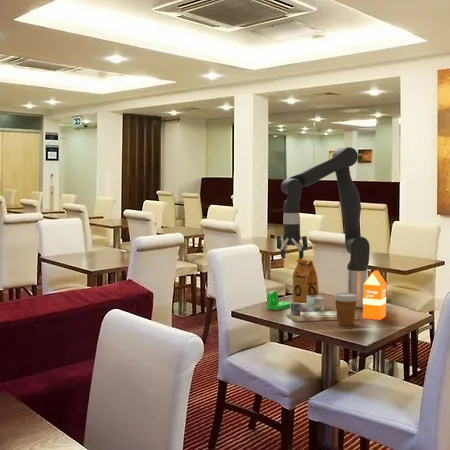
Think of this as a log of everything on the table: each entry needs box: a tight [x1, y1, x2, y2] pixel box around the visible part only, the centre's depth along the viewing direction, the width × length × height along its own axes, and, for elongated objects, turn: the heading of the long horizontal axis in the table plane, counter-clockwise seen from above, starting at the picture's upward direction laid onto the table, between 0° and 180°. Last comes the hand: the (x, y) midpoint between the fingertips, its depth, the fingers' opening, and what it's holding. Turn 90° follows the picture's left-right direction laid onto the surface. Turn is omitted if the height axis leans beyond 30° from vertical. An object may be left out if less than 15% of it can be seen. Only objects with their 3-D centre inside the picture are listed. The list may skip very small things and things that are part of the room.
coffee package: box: [292, 258, 320, 304], centre depth 278 cm, size 10×12×22 cm
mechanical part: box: [266, 290, 291, 311], centre depth 272 cm, size 12×6×8 cm, turn 139°
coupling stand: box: [285, 301, 360, 322], centre depth 251 cm, size 29×11×6 cm, turn 100°
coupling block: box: [306, 294, 326, 312], centre depth 262 cm, size 5×11×7 cm, turn 10°
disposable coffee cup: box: [333, 292, 358, 326], centre depth 239 cm, size 10×10×12 cm
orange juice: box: [362, 270, 387, 321], centre depth 252 cm, size 8×9×20 cm
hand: (292, 258), depth 264 cm, fingers open, 8 cm apart
